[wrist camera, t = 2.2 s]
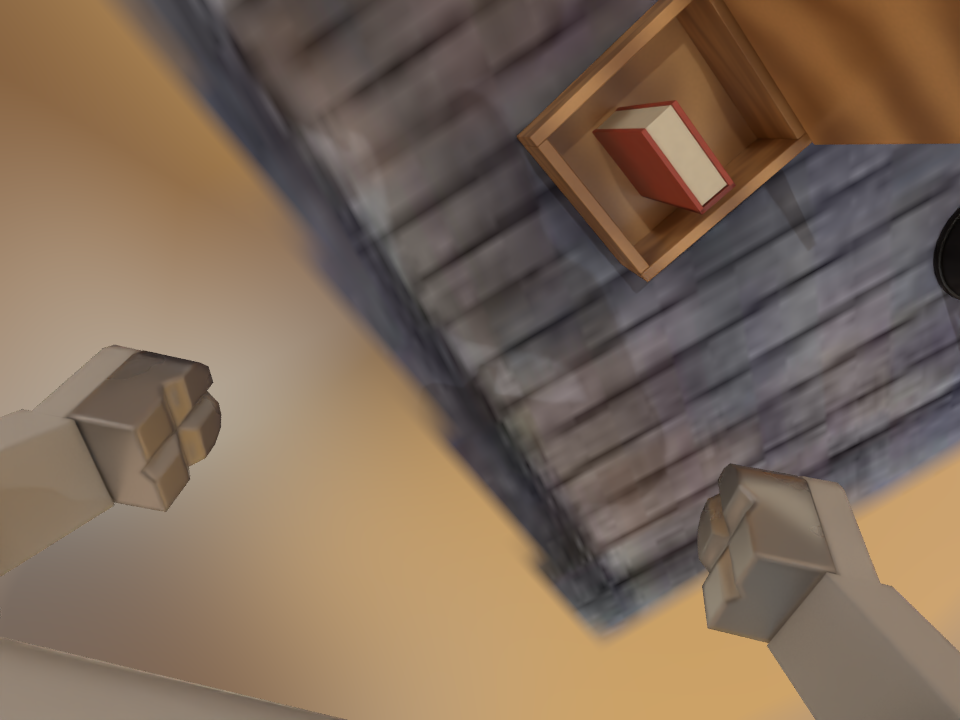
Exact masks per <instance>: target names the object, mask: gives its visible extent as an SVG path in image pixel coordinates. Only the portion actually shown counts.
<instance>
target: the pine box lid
mask: <svg viewBox="0 0 960 720" xmlns="http://www.w3.org/2000/svg"><path fill="white" fill-rule="evenodd" d="M724 2H725V4H726V5H727V7H728V8H729V10H730V12H731V13H732V15H733V16H734V18H735V20H736V21H737V23H738V24H739V26H740V27H741V29H742V31H743V32H744V34H745V35H746V37H747V39H748V40H749V42H750V43H751V45H752V47H753V48H754V50H755V51H756V53H757V54H758V56H759V58H760V59H761V61H762V62H763V64H764V66H765V67H766V69H767V70H768V72H769V74H770V75H771V77H772V78H773V80H774V81H775V83H776V85H777V86H778V88H779V89H780V91H781V93H782V94H783V96H784V97H785V99H786V101H787V102H788V104H789V105H790V107H791V108H792V110H793V112H794V113H795V115H796V116H797V118H798V120H799V121H800V123H801V124H802V126H803V128H804V129H805V131H806V132H807V134H808V136H809V137H810V139H811V140H812V142H813V143H814V145H827V144H953V143H960V0H724Z"/></svg>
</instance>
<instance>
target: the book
mask: <svg viewBox="0 0 960 720" xmlns="http://www.w3.org/2000/svg"><path fill="white" fill-rule="evenodd" d="M592 133H593V134H594V135H595V137H596V138H597V139H598V141H599V142H600V143H601V144H602V146H603V147H604V148H605V150H606V151H607V152H608V154H609V155H610V156H611V157H612V159H613V160H614V161H615V163H616V164H617V165H618V166H619V168H620V169H621V170H622V172H623V173H624V174H625V176H626V177H627V178H628V179H629V181H630V182H631V183H632V185H633V186H634V187H635V189H636V190H637V191H638V192H639V194H640V195H641V196H642V197H645V198H649V199H652V200H655V201H659V202H662V203H665V204H668V205H672V206H675V207H678V208H682V209H685V210H688V211H691V212H695V213H698V214H701V215H702V214H704V213H705V212H706V211H707V210H708V209H709V208H711V207H712V206H713V205H714V204H715V203H716V202H718V201H719V200H720V199H721V198H722V197H723V196H725V195H726V194H727V193H728V192H729V191H730V190H732V189H733V188H734V187H735V186H736V185H735V183H734V182H733V180H732V179H731V177H730V176H729V175H728V173H727V172H726V170H725V169H724V167H723V166H722V165H721V163H720V162H719V160H718V159H717V158H716V156H715V155H714V153H713V152H712V150H711V149H710V148H709V146H708V145H707V143H706V142H705V140H704V139H703V138H702V136H701V135H700V133H699V132H698V130H697V129H696V128H695V126H694V125H693V123H692V122H691V120H690V119H689V118H688V116H687V115H686V113H685V112H684V110H683V109H682V108H681V106H680V105H679V103H678V102H677V100H672V101H664V102H656V103H649V104H641V105H633V106H625V107H618V108H617V109H616V110H615V112H614V113H613V114H612V115H611V116H610V117H609V118H608V119H607V120H606V121H605V122H604V123H603V124H602V125H600V126H599V127H598V128H597V129H594V130H593V131H592Z"/></svg>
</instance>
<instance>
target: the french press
mask: <svg viewBox="0 0 960 720" xmlns="http://www.w3.org/2000/svg"><path fill="white" fill-rule="evenodd" d="M934 268H935V274H936V277H937V279H938V282H939V284H940V285H941V287H942V288H943V289H944V291H946V292H947V293H948V294H949V295H951V296H952V297H954V298H956V299H959V300H960V208H959V209H958V210H957V211H956V212H955V213H954V215H953V216H952V217H951V218H950V219H949V221H948V222H947V224H946V226H945V227H944V229H943V230H942V233H941V235H940V237H939V239H938V242H937V246H936V250H935V256H934Z"/></svg>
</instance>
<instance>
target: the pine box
mask: <svg viewBox="0 0 960 720" xmlns="http://www.w3.org/2000/svg"><path fill="white" fill-rule="evenodd" d="M672 100H677V102H678V103H679V105H680V106H681V108H682V109H683V110H684V112H685V113H686V115H687V116H688V118H689V119H690V120H691V122H692V123H693V125H694V126H695V128H696V129H697V130H698V132H699V133H700V135H701V136H702V138H703V139H704V140H705V142H706V143H707V145H708V146H709V148H710V149H711V150H712V152H713V153H714V155H715V156H716V158H717V159H718V160H719V162H720V163H721V165H722V166H723V167H724V169H725V170H726V172H727V173H728V175H729V176H730V177H731V179H732V180H733V182H734V183H735V185H736V186H735V187H734V188H733V189H732V190H730V191H729V192H728V193H727V194H726V195H725V196H723V197H722V198H721V199H720V200H719V201H718V202H716V203H715V204H714V205H713V206H712V207H711V208H709V209H708V210H707V211H706V212H705V213H704V214H702V215H701V214H698V213H695V212H691V211H688V210H685V209H682V208H678V207H675V206H672V205H668V204H665V203H662V202H659V201H655V200H652V199H649V198H645V197H642V196H641V195H640V194H639V192H638V191H637V190H636V189H635V187H634V186H633V185H632V183H631V182H630V181H629V179H628V178H627V177H626V176H625V174H624V173H623V172H622V170H621V169H620V168H619V166H618V165H617V164H616V163H615V161H614V160H613V159H612V157H611V156H610V155H609V154H608V152H607V151H606V150H605V148H604V147H603V146H602V144H601V143H600V142H599V141H598V139H597V138H596V137H595V135H594V134H593V133H592V131H593V130H594V129H597V128H598V127H599V126H600V125H602V124H603V123H604V122H605V121H606V120H607V119H608V118H609V117H610V116H611V115H612V114H613V113H614V112H615V110H616V109H617V108H618V107H625V106H633V105H641V104H649V103H656V102H664V101H672ZM517 138H518V139H519V141H520V142H521V143H522V144H523V146H524V147H525V148H526V149H527V150H528V152H529V153H530V154H531V155H532V156H533V158H534V159H535V160H536V161H537V163H538V164H539V165H540V166H541V167H542V169H543V170H544V171H545V172H546V173H547V175H548V176H549V177H550V178H551V180H552V181H553V182H554V183H555V184H556V186H557V187H558V188H559V189H560V190H561V192H562V193H563V194H564V195H565V197H566V198H567V199H568V200H569V201H570V203H571V204H572V205H573V206H574V207H575V209H576V210H577V211H578V212H579V214H580V215H581V216H582V217H583V218H584V220H585V221H586V222H587V223H588V224H589V226H590V227H591V228H592V229H593V231H594V232H595V233H596V234H597V235H598V237H599V238H600V239H601V240H602V241H603V243H604V244H605V245H606V246H607V248H608V249H609V250H610V251H611V252H612V254H613V255H614V256H615V257H616V258H617V260H618V261H619V262H620V263H621V264H622V265H623V266H625V267H626V268H628V269H629V270H631V271H632V272H633V273H635V274H636V275H638V276H639V277H641V278H642V279H644V280H645V281H647V282H648V281H650V280H651V279H652V278H653V277H654V276H655V275H657V274H658V273H659V272H660V271H661V270H662V269H664V268H665V267H666V266H667V265H668V264H669V263H671V262H672V261H673V260H674V259H675V258H677V257H678V256H679V255H680V254H681V253H682V252H684V251H685V250H686V249H687V248H688V247H689V246H691V245H692V244H693V243H694V242H695V241H697V240H698V239H699V238H700V237H701V236H702V235H704V234H705V233H706V232H707V231H708V230H709V229H711V228H712V227H713V226H714V225H715V224H716V223H718V222H719V221H720V220H721V219H722V218H724V217H725V216H726V215H727V214H728V213H729V212H731V211H732V210H733V209H734V208H735V207H736V206H738V205H739V204H740V203H741V202H742V201H743V200H745V199H746V198H747V197H748V196H749V195H751V194H752V193H753V192H754V191H755V190H756V189H758V188H759V187H760V186H761V185H762V184H763V183H765V182H766V181H767V180H768V179H769V178H771V177H772V176H773V175H774V174H775V173H776V172H778V171H779V170H780V169H781V168H782V167H783V166H785V165H786V164H787V163H788V162H789V161H790V160H792V159H793V158H794V157H795V156H796V155H798V154H799V153H800V152H801V151H802V150H803V149H805V148H806V147H807V146H808V145H809V144H810V143H812V140H811V139H810V137H809V136H808V134H807V132H806V131H805V129H804V128H803V126H802V124H801V123H800V121H799V120H798V118H797V116H796V115H795V113H794V112H793V110H792V108H791V107H790V105H789V104H788V102H787V101H786V99H785V97H784V96H783V94H782V93H781V91H780V89H779V88H778V86H777V85H776V83H775V81H774V80H773V78H772V77H771V75H770V74H769V72H768V70H767V69H766V67H765V66H764V64H763V62H762V61H761V59H760V58H759V56H758V54H757V53H756V51H755V50H754V48H753V47H752V45H751V43H750V42H749V40H748V39H747V37H746V35H745V34H744V32H743V31H742V29H741V27H740V26H739V24H738V23H737V21H736V20H735V18H734V16H733V15H732V13H731V12H730V10H729V8H728V7H727V5H726V4H725V2H724V0H658V1H657V2H656V3H655V4H654V5H653V6H652V7H651V8H650V9H649V10H648V11H647V12H646V13H645V14H644V15H643V16H642V17H641V18H640V19H639V20H638V21H636V22H635V23H634V24H633V25H632V26H631V27H630V28H629V29H628V30H627V31H626V32H625V33H624V34H623V35H622V36H621V37H620V38H619V39H618V40H617V41H616V42H615V43H614V44H612V45H611V46H610V47H609V48H608V49H607V50H606V51H605V52H604V53H603V54H602V55H601V56H600V57H599V58H598V59H597V60H596V61H595V62H594V63H593V64H592V65H591V66H589V67H588V68H587V69H586V70H585V71H584V72H583V73H582V74H581V75H580V76H579V77H578V78H577V79H576V80H575V81H574V82H573V83H572V84H571V85H570V86H569V87H568V88H566V89H565V90H564V91H563V92H562V93H561V94H560V95H559V96H558V97H557V98H556V99H555V100H554V101H553V102H552V103H551V104H550V105H549V106H548V107H547V108H546V109H545V110H544V111H542V112H541V113H540V114H539V115H538V116H537V117H536V118H535V119H534V120H533V121H532V122H531V123H530V124H529V125H528V126H527V127H526V128H525V129H524V130H523V131H522V132H521V133H519V134H518V135H517Z"/></svg>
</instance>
